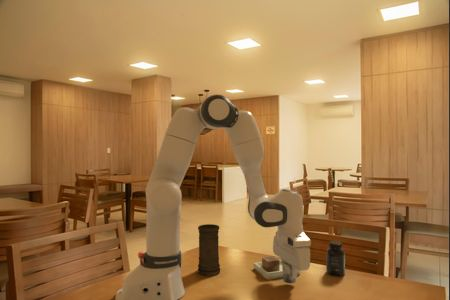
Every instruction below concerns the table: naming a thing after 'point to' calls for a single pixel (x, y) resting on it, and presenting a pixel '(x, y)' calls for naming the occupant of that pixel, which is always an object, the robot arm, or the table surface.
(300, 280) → the table surface
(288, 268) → the metal cylinder
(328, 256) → the supplement bottle
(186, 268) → the table surface
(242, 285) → the table surface
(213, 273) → the container
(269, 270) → the walnut block
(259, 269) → the tray
